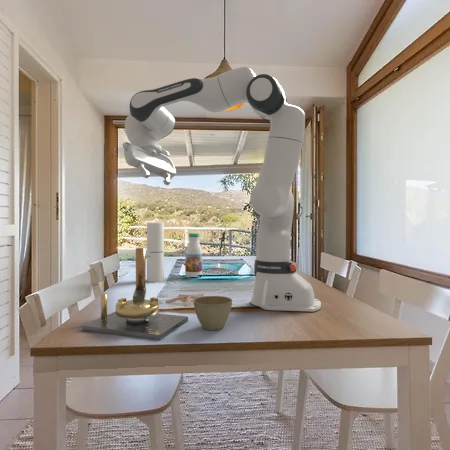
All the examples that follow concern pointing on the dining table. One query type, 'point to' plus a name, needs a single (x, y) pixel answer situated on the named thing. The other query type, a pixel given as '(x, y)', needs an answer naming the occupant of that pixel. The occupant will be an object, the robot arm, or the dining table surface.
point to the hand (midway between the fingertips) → (157, 180)
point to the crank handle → (138, 294)
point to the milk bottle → (193, 256)
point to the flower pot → (212, 311)
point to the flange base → (135, 324)
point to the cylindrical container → (155, 252)
